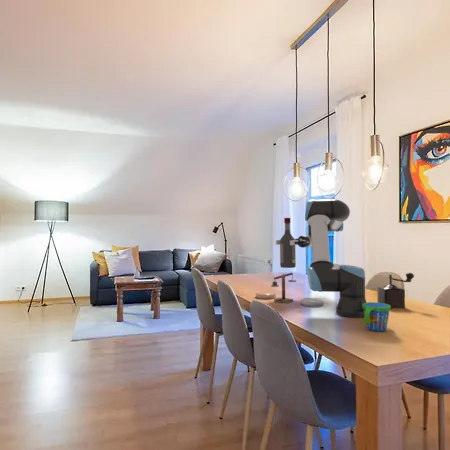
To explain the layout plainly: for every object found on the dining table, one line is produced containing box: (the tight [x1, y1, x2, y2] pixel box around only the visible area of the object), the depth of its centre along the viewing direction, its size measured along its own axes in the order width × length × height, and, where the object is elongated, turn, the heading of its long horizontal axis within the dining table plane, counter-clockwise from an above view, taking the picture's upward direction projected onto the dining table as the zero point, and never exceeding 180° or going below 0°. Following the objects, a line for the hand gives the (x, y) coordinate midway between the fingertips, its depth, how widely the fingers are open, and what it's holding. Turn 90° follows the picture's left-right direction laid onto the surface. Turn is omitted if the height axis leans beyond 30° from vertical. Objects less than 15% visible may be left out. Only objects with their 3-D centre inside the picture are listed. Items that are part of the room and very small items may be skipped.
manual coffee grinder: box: [376, 272, 415, 309], centre depth 190 cm, size 16×11×18 cm
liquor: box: [279, 217, 297, 269], centre depth 219 cm, size 9×9×30 cm
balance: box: [270, 272, 297, 304], centre depth 204 cm, size 15×6×17 cm, turn 57°
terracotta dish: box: [255, 291, 277, 300], centre depth 217 cm, size 12×12×2 cm
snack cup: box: [362, 302, 391, 332], centre depth 147 cm, size 16×10×10 cm
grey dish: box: [300, 297, 325, 308], centre depth 196 cm, size 12×12×2 cm
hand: (283, 242), depth 216 cm, fingers closed on liquor, 10 cm apart
